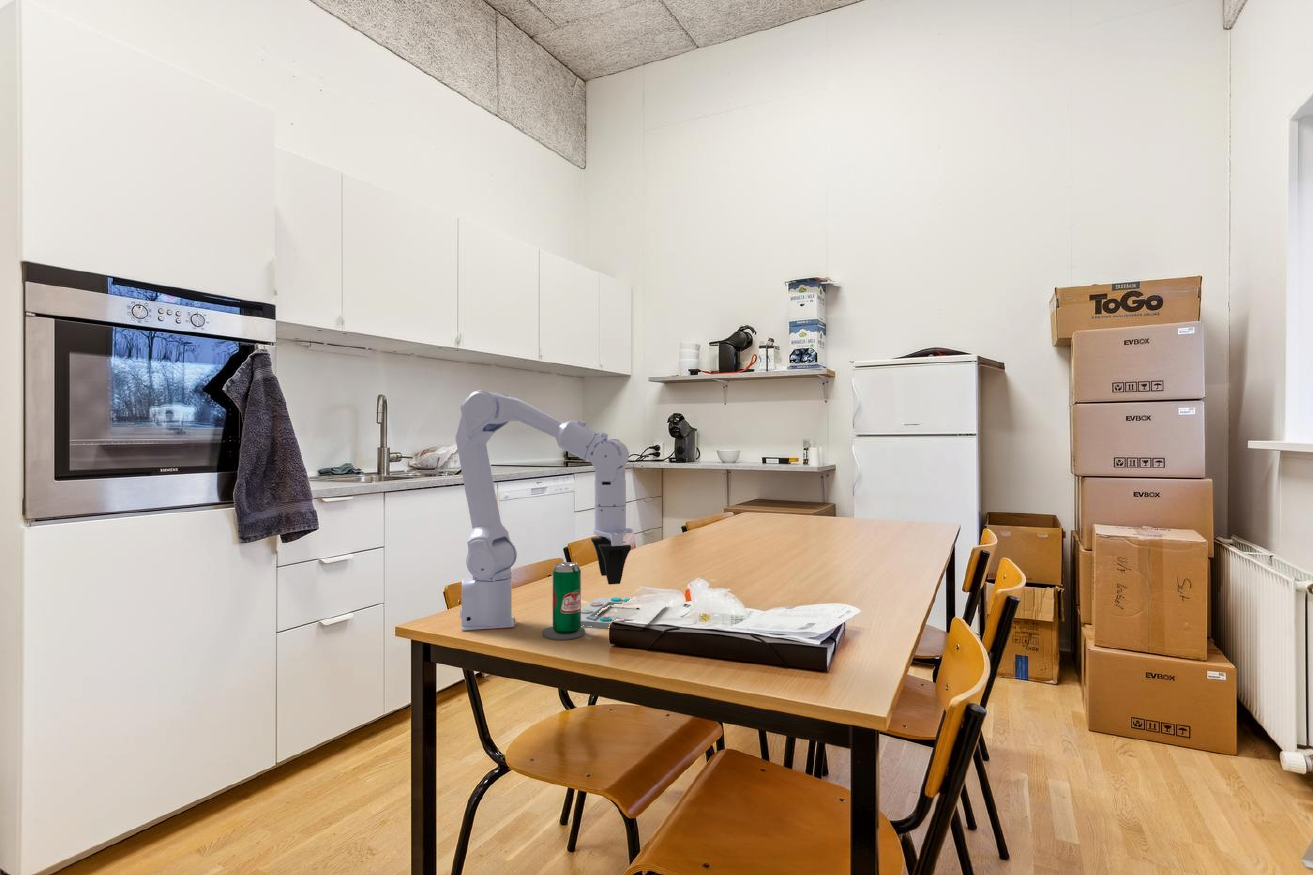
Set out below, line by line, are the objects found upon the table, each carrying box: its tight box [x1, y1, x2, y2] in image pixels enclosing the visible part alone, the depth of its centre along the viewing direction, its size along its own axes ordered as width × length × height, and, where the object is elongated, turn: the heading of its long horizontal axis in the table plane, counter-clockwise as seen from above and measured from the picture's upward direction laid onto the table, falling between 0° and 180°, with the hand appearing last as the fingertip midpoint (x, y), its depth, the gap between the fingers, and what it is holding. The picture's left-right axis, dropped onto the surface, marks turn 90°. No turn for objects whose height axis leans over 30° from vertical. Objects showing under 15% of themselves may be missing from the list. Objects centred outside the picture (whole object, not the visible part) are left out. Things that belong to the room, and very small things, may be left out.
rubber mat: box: [542, 625, 586, 641], centre depth 124 cm, size 8×8×1 cm
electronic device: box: [581, 597, 633, 630], centre depth 136 cm, size 18×2×15 cm
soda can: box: [552, 561, 582, 634], centre depth 124 cm, size 5×5×12 cm
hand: (610, 579), depth 126 cm, fingers open, 7 cm apart
